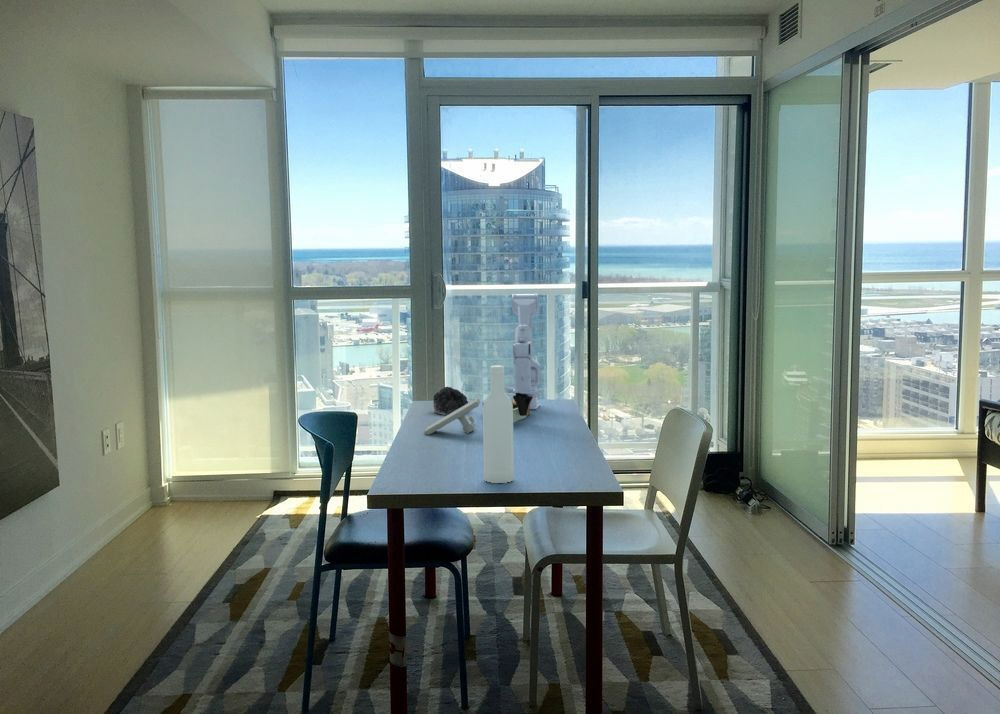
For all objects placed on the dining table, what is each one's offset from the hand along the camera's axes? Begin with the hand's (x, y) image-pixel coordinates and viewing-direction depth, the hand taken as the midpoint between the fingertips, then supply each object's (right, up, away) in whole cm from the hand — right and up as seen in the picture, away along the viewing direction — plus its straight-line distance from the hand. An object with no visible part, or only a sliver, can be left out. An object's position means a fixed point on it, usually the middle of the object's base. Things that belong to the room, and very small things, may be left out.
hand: (523, 415), depth 285 cm
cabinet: (-6, -1, +12) cm, 13 cm away
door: (-2, -2, -1) cm, 3 cm away
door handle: (-24, -5, -9) cm, 26 cm away
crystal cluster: (-26, 0, +20) cm, 33 cm away
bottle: (-8, -12, -71) cm, 73 cm away
